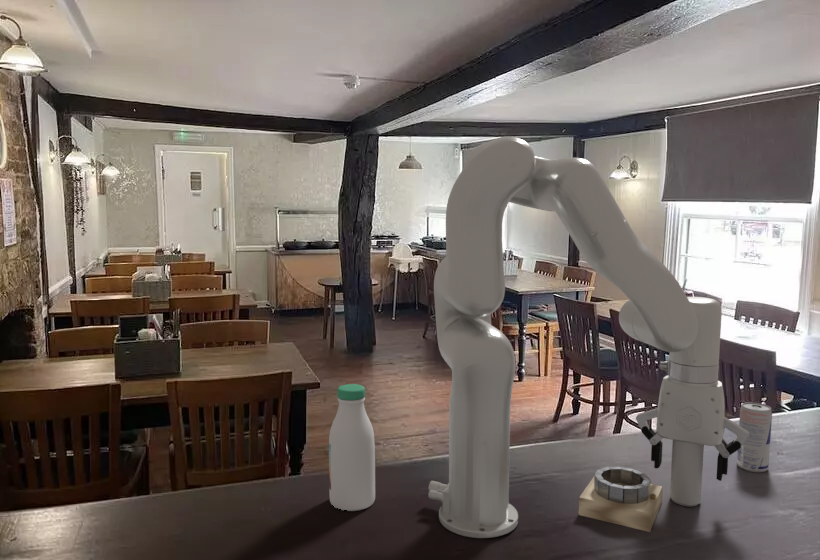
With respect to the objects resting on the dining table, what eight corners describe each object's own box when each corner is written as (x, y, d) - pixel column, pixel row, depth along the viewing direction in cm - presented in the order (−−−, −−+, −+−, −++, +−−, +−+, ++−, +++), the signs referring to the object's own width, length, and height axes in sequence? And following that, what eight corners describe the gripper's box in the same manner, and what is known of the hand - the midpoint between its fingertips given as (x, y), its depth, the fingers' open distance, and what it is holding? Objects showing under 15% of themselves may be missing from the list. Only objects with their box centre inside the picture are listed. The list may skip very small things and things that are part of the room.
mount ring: (589, 496, 105) (589, 481, 105) (601, 476, 113) (602, 463, 112) (643, 508, 101) (644, 493, 101) (653, 487, 108) (654, 473, 108)
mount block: (578, 514, 105) (579, 493, 105) (595, 489, 115) (596, 469, 114) (649, 532, 100) (650, 509, 99) (661, 503, 109) (662, 482, 109)
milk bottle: (384, 501, 110) (384, 386, 108) (350, 517, 105) (349, 396, 102) (354, 487, 115) (352, 378, 113) (320, 502, 110) (318, 387, 107)
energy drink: (769, 465, 125) (773, 405, 123) (767, 475, 120) (771, 412, 119) (738, 459, 128) (741, 400, 126) (735, 468, 123) (738, 407, 122)
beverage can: (703, 508, 107) (707, 439, 106) (672, 506, 108) (676, 437, 107) (696, 496, 112) (700, 429, 110) (667, 493, 113) (670, 427, 111)
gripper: (634, 370, 108) (630, 469, 110) (751, 385, 99) (744, 491, 101) (642, 361, 114) (638, 454, 117) (753, 373, 106) (747, 474, 108)
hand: (688, 471), depth 109 cm, fingers open, 9 cm apart
